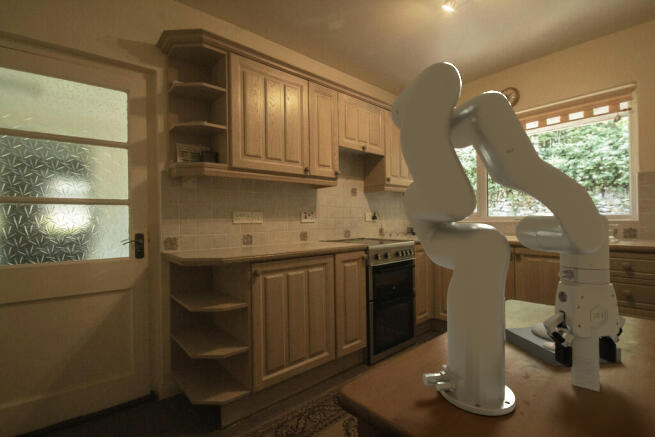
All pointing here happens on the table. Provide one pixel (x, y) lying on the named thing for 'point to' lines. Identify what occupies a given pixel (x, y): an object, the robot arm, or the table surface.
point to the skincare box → (586, 361)
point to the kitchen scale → (540, 343)
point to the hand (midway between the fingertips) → (585, 362)
